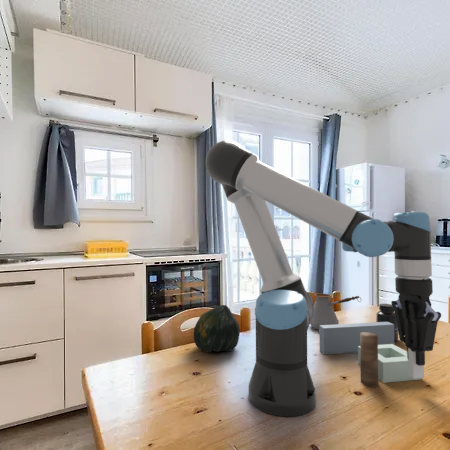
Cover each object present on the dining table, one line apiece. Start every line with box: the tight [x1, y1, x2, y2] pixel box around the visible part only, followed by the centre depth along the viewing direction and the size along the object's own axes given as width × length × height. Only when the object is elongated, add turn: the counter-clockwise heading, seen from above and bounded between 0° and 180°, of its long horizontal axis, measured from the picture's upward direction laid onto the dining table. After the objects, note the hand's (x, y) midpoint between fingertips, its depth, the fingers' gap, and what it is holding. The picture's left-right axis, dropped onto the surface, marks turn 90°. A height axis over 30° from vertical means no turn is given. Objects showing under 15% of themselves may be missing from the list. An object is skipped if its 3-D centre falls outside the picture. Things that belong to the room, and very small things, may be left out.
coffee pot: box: [310, 293, 362, 331], centre depth 116 cm, size 21×12×15 cm, turn 36°
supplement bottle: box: [375, 303, 399, 343], centre depth 107 cm, size 7×7×12 cm
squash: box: [193, 304, 241, 353], centre depth 99 cm, size 14×15×15 cm
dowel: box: [360, 332, 379, 388], centre depth 77 cm, size 4×4×12 cm
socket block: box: [357, 343, 423, 384], centre depth 83 cm, size 11×11×5 cm
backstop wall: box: [318, 321, 395, 355], centre depth 97 cm, size 24×3×8 cm, turn 99°
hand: (416, 376), depth 72 cm, fingers closed
